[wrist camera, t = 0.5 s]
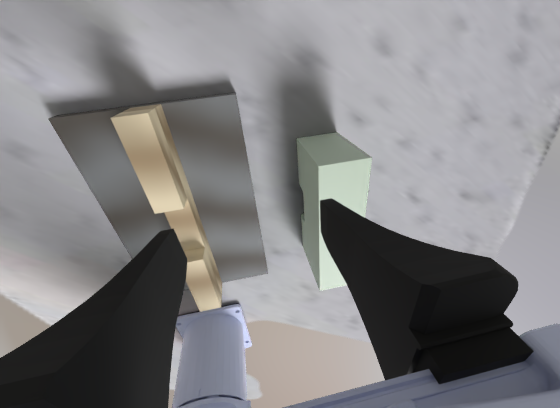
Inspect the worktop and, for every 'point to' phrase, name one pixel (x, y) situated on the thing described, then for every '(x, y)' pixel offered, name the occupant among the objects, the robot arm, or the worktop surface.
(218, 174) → the joint board
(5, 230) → the worktop surface
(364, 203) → the pale green block
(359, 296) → the robot arm
